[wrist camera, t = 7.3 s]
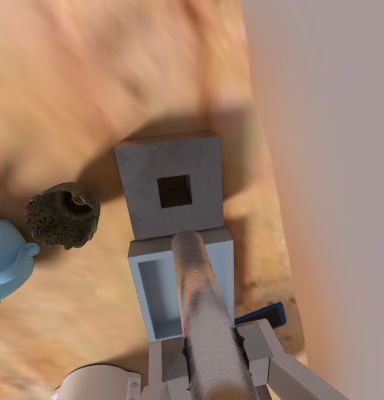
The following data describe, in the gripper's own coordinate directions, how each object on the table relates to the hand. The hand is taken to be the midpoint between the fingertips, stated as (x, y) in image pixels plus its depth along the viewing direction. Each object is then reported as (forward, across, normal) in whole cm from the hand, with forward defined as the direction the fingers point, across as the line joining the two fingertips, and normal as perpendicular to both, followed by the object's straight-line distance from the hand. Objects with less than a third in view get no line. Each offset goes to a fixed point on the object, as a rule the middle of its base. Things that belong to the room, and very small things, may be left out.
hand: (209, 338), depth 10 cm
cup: (+25, -13, -1) cm, 28 cm away
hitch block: (+25, 0, 0) cm, 25 cm away
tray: (+25, 0, -20) cm, 32 cm away
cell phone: (+25, +14, -36) cm, 46 cm away
